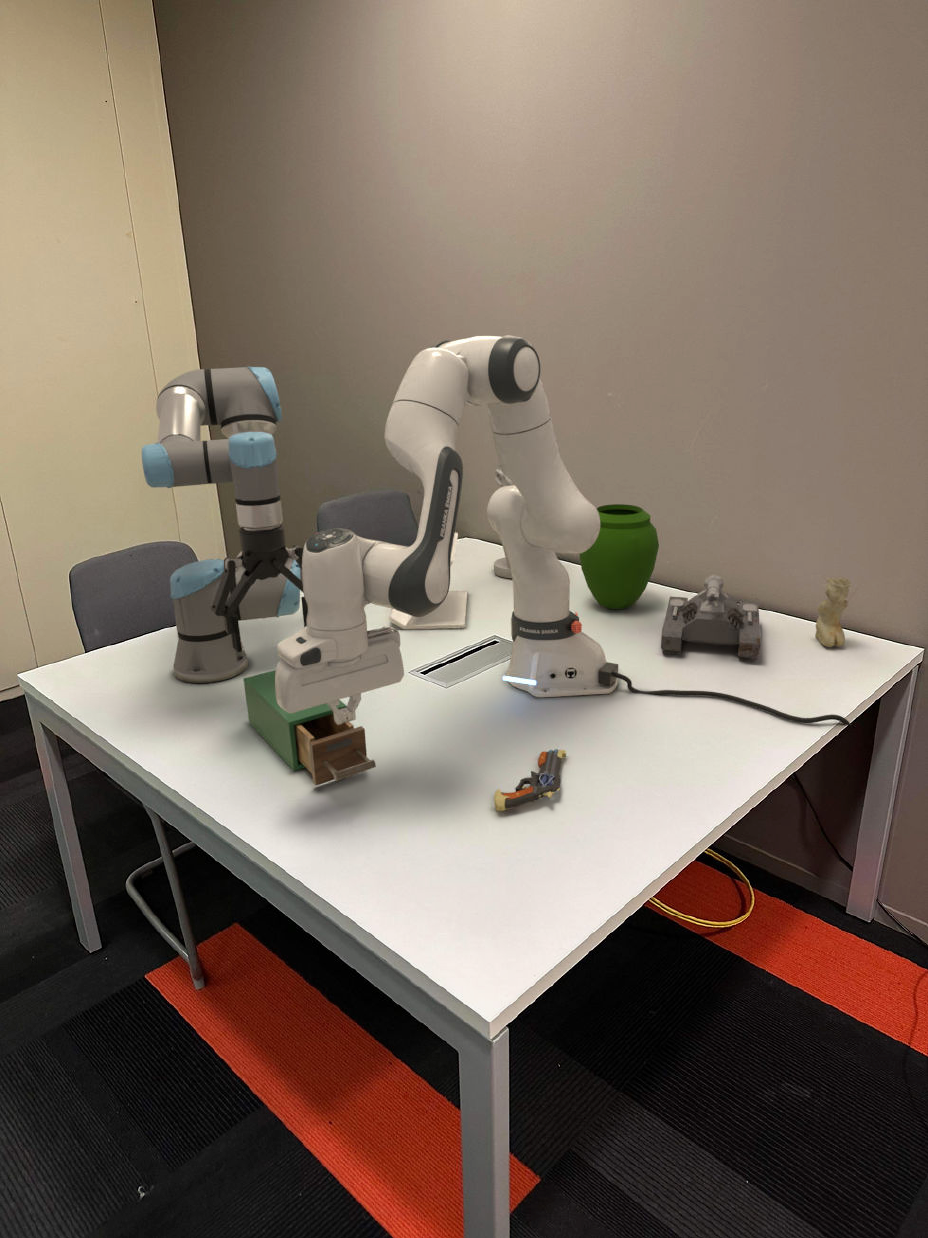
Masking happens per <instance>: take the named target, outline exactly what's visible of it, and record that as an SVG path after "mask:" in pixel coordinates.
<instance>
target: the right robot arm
mask: <svg viewBox="0 0 928 1238" xmlns="http://www.w3.org/2000/svg"><path fill="white" fill-rule="evenodd" d="M397 388H398V389H397V391H396V393H395V396H394V398H393V402H392V404H391V406H390V410H389V413H388V416H387V418H386V422H385V427H384V442H385V446H386V449H387V451H388V453H389V455H390V456H391V458H392V459H393V460H394V461H395V462H396V463H397V464H398V465H399V466H400V467H402V468H403V469H404V470H406V471H407V472H409V473H410V474H411V475H413V476H415V477H416V478H417V479H419V480H420V482H421V484H422V486H423V501H422V507H421V513H420V518H419V523H418V529H417V535H416V539H415V541H414V542H413V543H412V544H411V545H410V546H407V545H401V544H394V543H390V542H386V541H381V540H376V539H371V538H369V539H368V538H364V537H362V536H359V535H357V534H356V533H354V531H352V530H351V529H348V528H343V527H342V528H341V527H333V528H328V529H323V530H320V531H318V532H316V533H314V534H312V535H311V536H310V537H309V538H307V540H306V541H305V543H304V547H303V549H304V550H303V556H302V570H301V579H302V580H301V581H302V582H303V592H304V593H303V592H302V593H303V597H305V600H306V602H307V606H308V614H307V619H306V622H307V626H306V627H304V626H303V628H302V629H300V630H299V631H297V632H295V633H294V634H292V635H290V636H289V637H287V638H285V639H283V640H282V641H280V642H279V643H278V644H277V645H276V651H277V652H276V653H277V654H278V656H279V657H280V660H279V661H278V663H277V664H276V667H275V670H276V672H275V693H276V701H277V703H278V705H279V706H280V707H281V708H282V709H283V710H285V711H286V712H288V713H294V712H298V711H301V710H305V709H308V708H312V707H315V706H318V705H322V704H325V703H326V704H327V705H328V706H329V708H330V709H331V710H332V711H333V713H334V721H335V722H336V723H337V724H338V725H340V724H343V723H346V722H352V721H356V719H357V716H356V715H357V714H356V711H357V709H358V707H359V705H360V703H361V701H362V694H364V693H366V692H371V691H373V690H374V691H375V690H377V689H381V688H385V687H387V686H391V685H395V684H398V683H401V681H402V680H403V678H404V677H405V668H404V662H403V657H402V652H401V649H400V647H401V634H400V632H399V630H398V629H397V628H394V627H391V626H390V625H386V626H382V627H380V628H375V629H368V623H367V614H366V611H365V608H366V606H367V605H369V604H372V605H375V606H379V607H385V608H387V609H391V610H392V609H395V610H397V611H400V612H403V613H406V614H408V615H411V616H414V617H423V616H425V615H427V614H429V613H431V612H432V611H434V610H435V609H436V608H438V607H439V606H440V605H441V604H442V602H443V601H444V600H445V598H446V597H447V594H448V591H450V586H451V567H450V560H451V551H452V545H453V539H454V533H455V532H456V526H457V521H458V515H459V507H460V503H461V497H462V495H461V494H462V488H463V480H464V479H463V478H464V464H463V459H462V458H461V456H460V454H459V453H458V452H457V449H456V441H457V434H458V430H459V427H460V425H461V421H462V418H463V413H464V409H465V406H470V407H480V406H484V405H486V407H487V415H488V420H489V425H490V430H491V433H492V439H493V442H494V443H493V444H494V447H495V451H496V455H497V461H498V460H499V464H500V467H501V469H502V471H503V473H504V474H505V475H506V476H507V477H508V478H509V479H510V480H511V481H512V482H513V483H514V485H512V486H504V487H502V486H500V487H499V488H497V490H495V491H494V492H493V494H492V495H491V497H490V499H489V501H488V503H487V508H486V512H487V514H486V517H487V521H488V523H489V525H490V527H491V528H492V529H493V531H494V532H495V533H496V536H498V538H499V540H500V542H502V543H501V545H502V544H503V546H504V549H505V552H506V554H507V557H508V561H509V564H510V568H511V572H512V578H511V579H512V592H513V593H512V594H513V596H512V597H513V611H512V612H511V618H510V635H511V640H512V645H511V646H512V647H511V655H510V660H509V665H508V669H507V672H506V675H503V676H502V681H506V682H507V683H509V684H510V685H511V686H513V687H515V688H517V689H519V690H522V691H525V692H527V693H529V694H530V695H531V696H533V697H535V698H556V697H572V696H573V697H574V696H588V695H589V696H590V695H591V696H592V695H607V694H611V693H612V692H613V691H615V690H616V688H617V686H618V679H620V680H623V682H626V687H627V690H628V691H629V692H631V693H633V694H642V695H649V696H666V695H667V696H668V695H669V696H703V697H712V698H719V699H724V700H729V701H733V702H736V703H739V704H742V705H745V706H749V707H751V708H755V709H759V710H762V711H764V712H767V713H770V714H771V715H774V716H777V717H778V718H782V719H784V720H788V721H792V722H796V723H800V724H813V723H819V722H824V721H830V720H831V721H832V720H833V721H839V722H840V723H842V724H843V725H844V726H851V725H852V724H851V722H849V720H847V718H845V717H843V716H842V715H838V714H825V715H820V716H815V717H800V716H797V715H796V716H795V715H793V714H792V715H791V714H788V713H785V712H782V711H780V710H777V709H776V708H775V709H774V708H772V707H770V706H768V705H764V704H761V703H759V702H755V701H751V700H748V699H745V698H742V697H738V696H735V695H732V694H729V693H728V694H727V693H722V692H716V691H709V690H708V691H707V690H677V689H660V690H648V691H647V690H639V689H637V688H635V687H633V682H632V680H631V679H630V678H629V676H626V675H624V674H622V673H619V664H618V663H615V662H614V663H613V662H607V658H606V654H605V651H604V648H603V647H602V645H601V644H600V643H599V642H598V641H596V640H595V639H593V638H591V637H590V636H589V635H587V634H586V633H585V632H583V631H582V630H583V626H582V625H583V624H582V622H581V621H580V616H579V615H578V612H577V611H575V613H574V612H573V611H571V610H570V590H571V589H570V586H571V585H570V584H571V579H570V574H569V572H568V571H567V569H566V568H565V567H564V565H563V564H562V563H561V562H560V559H559V558H558V556H557V554H579V553H583V552H585V551H587V550H588V549H589V548H590V547H591V546H592V545H593V544H594V543H595V541H596V539H597V537H598V535H599V531H600V516H599V513H598V511H597V507H595V505H594V504H592V503H591V502H590V501H589V500H588V499H587V497H585V495H583V494H582V492H581V491H580V489H579V488H578V487H577V485H576V484H575V482H574V480H573V479H572V476H571V475H570V473H569V471H568V468H567V467H566V465H565V463H564V461H563V458H562V456H561V453H560V449H559V444H558V440H557V436H556V432H555V427H554V422H553V418H552V413H551V408H550V403H549V400H548V397H547V393H546V391H545V388H544V385H543V382H542V379H541V361H540V357H539V355H538V352H537V351H536V349H535V347H534V346H533V345H532V343H531V342H530V341H529V340H528V339H526V338H523V337H520V336H515V335H509V334H508V335H503V336H495V335H475V336H472V337H471V336H470V337H466V338H460V339H456V340H443V341H440V342H437V343H435V344H433V345H431V346H429V347H428V348H425V349H422V350H421V351H419V352H418V353H417V354H416V355H415V356H414V357H413V359H412V360H411V363H410V365H409V366H408V368H407V370H406V372H405V374H404V376H403V377H402V380H401V382H400V384H399V386H398V387H397ZM503 546H502V547H503ZM504 549H503V550H504ZM556 553H557V554H556ZM346 698H349V699H348V701H347V704H346V706H347V707H346V708H343V709H339V710H338V708H337V707H336V706H338V705H339V700H342V699H346Z"/></svg>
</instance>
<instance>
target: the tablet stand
mask: <svg viewBox="0 0 928 1238" xmlns="http://www.w3.org/2000/svg"><path fill="white" fill-rule="evenodd" d="M458 537H459V533H458V532H456V531H455V533H454V539H453V545H452V551H451V560H450V568H451V567H452V566H453V564H454V562H455V558H456V553H457V545H458ZM467 605H468V591H467V590H449V591H448V594H447V597H446V598H445V600H444V601H443V602H442V604H441V605H440V606H439V607H438V608H436V609H435V610H434V611H432V612H431V613H429V614H427V615H425V616H423V617H414V616H411V615H408V614H406V613H403V612H400V611H397V610H395V609H392V608H391V610H390V612H389V613H390V614H389V617H388V621H389V622H391V623H392V624H394V625H396V626H398V627H399V628H401V629H402V630H426V629H427V630H429V629H430V630H431V629H435V630H436V629H437V630H438V629H464V628H465V627H466V618H467V617H466V616H467Z"/></svg>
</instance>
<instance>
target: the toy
mask: <svg viewBox="0 0 928 1238" xmlns="http://www.w3.org/2000/svg"><path fill="white" fill-rule="evenodd" d="M724 585H725V582H724V579H723V578H722V577H721V576H720V575H718V574H710V575H709V576H708V577H706V578H705V580H704V584H703V586H704V589H703V590H702V591H700V592H697V594H696V595H695V596H693V597H691V599H688V597H684V596H683V597H682V596H669V599H668V603H667V608H666V611H665V617H664V621H663V625H662V630H661V639H660V648H661V651H662V653H665V654H678V655H680V654H681V650H682V644H683V641H685V642H688V643H697V644H710V645H712V644H713V645H724V646H735V645H737V658H739V659H749V660H751V659H752V660H757V659H758V658H759V655H760V649H761V625H760V624H761V623H760V608H759V607H760V606H759V602H755V601H743V600H742V601H741V600H739V603H738V602H737V601H736V600H735V599H734V598H732V597H731V596H730V595H729V594H728V593H726V592H724V591H723V588H724Z"/></svg>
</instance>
